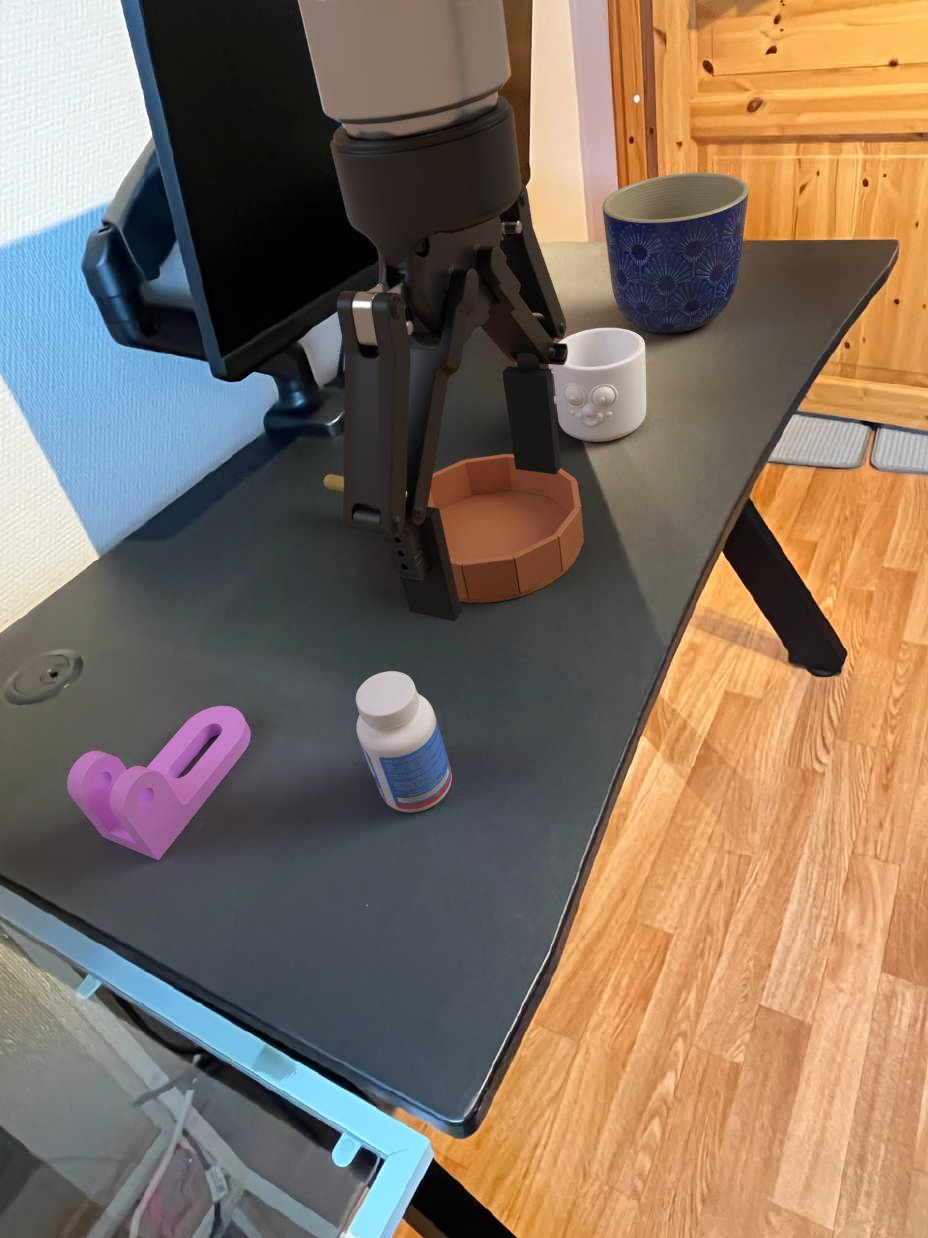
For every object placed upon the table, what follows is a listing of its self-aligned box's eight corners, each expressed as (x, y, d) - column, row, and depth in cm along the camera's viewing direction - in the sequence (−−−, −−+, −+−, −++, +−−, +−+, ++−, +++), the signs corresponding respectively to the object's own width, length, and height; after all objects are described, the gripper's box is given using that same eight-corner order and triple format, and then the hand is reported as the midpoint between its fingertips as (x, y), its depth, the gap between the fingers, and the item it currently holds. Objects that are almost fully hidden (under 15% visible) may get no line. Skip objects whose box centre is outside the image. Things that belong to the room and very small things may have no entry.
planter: (753, 292, 112) (761, 168, 102) (726, 351, 102) (732, 218, 92) (629, 291, 119) (625, 174, 109) (591, 345, 109) (583, 222, 99)
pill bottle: (467, 770, 61) (443, 678, 55) (425, 826, 58) (394, 736, 52) (408, 744, 64) (378, 654, 58) (365, 796, 61) (328, 707, 55)
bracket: (158, 860, 60) (115, 803, 55) (103, 837, 62) (58, 780, 58) (264, 726, 68) (234, 666, 63) (211, 710, 70) (179, 651, 66)
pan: (611, 510, 82) (609, 469, 79) (531, 622, 72) (525, 581, 69) (378, 465, 95) (369, 430, 92) (284, 555, 85) (270, 518, 82)
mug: (526, 447, 93) (516, 371, 87) (552, 400, 100) (544, 327, 94) (635, 452, 88) (632, 372, 82) (654, 403, 95) (653, 326, 89)
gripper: (471, 44, 43) (519, 416, 57) (137, 223, 27) (316, 671, 42) (613, 28, 40) (626, 427, 54) (323, 222, 24) (449, 708, 38)
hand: (491, 534), depth 48 cm, fingers open, 13 cm apart
